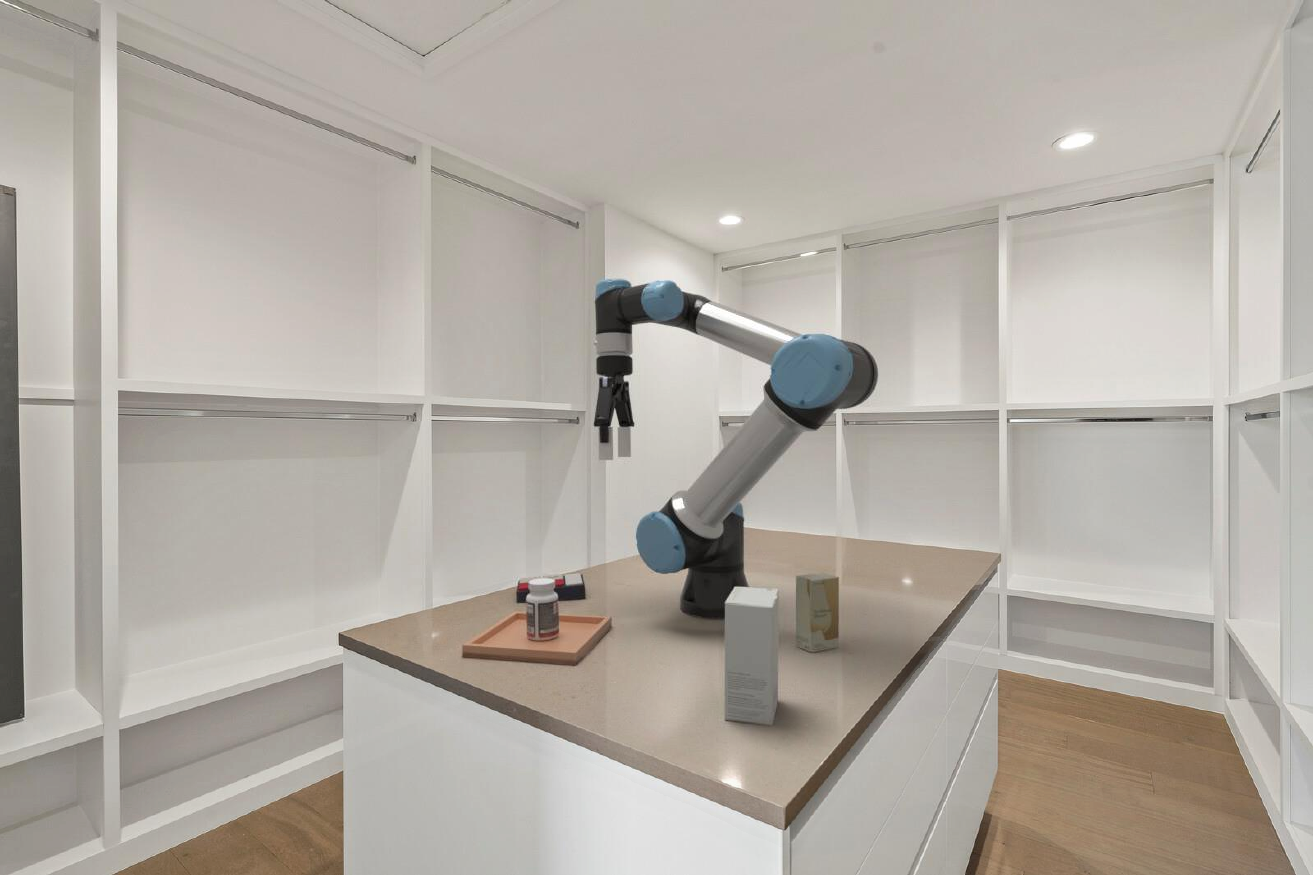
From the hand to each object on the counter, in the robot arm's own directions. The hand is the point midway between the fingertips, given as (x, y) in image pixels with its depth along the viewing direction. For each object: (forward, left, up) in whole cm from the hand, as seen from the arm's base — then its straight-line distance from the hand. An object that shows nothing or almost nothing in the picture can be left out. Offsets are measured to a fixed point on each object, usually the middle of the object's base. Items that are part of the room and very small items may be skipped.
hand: (615, 458), depth 132 cm
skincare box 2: (-40, +15, -32) cm, 53 cm away
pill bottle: (+8, +21, -31) cm, 38 cm away
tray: (+8, +21, -32) cm, 39 cm away
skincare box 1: (-31, +42, -32) cm, 61 cm away
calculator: (+19, -9, -32) cm, 38 cm away
